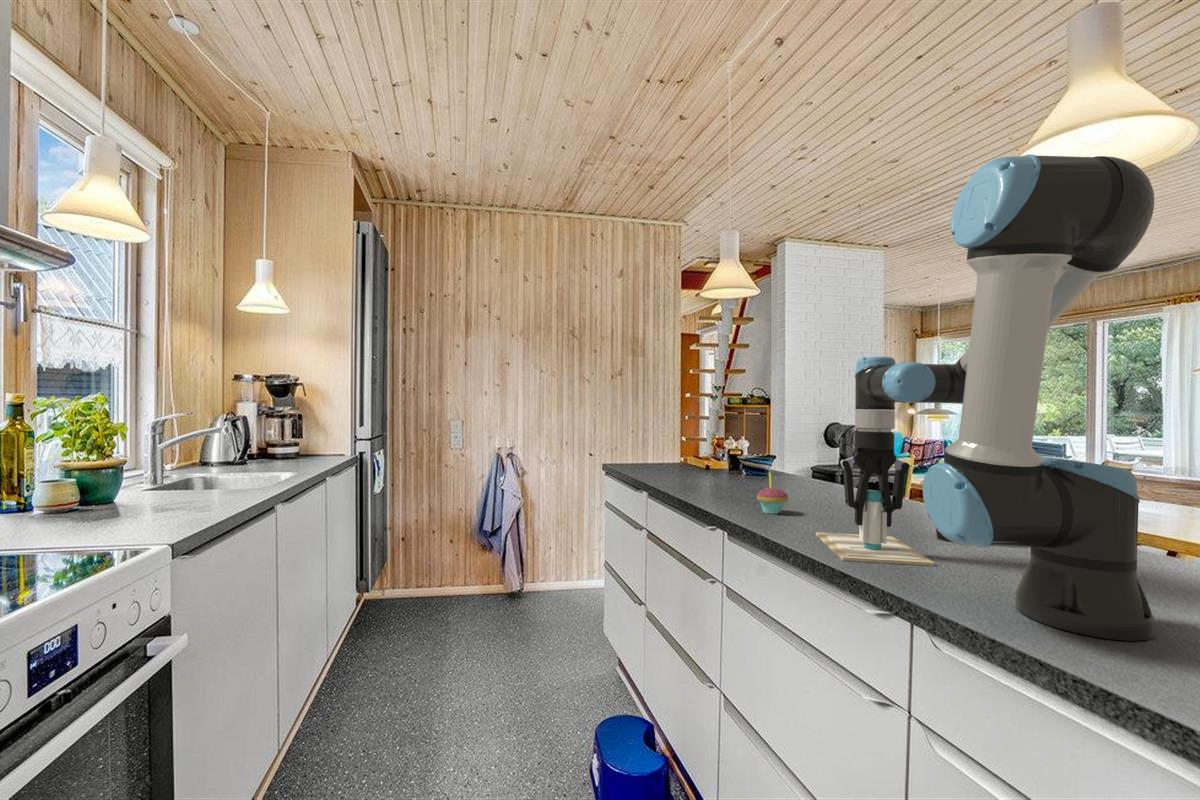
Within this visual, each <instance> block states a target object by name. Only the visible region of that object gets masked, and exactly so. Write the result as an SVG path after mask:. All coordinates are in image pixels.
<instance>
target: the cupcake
mask: <svg viewBox="0 0 1200 800" xmlns="http://www.w3.org/2000/svg"><path fill="white" fill-rule="evenodd" d="M768 477H769V478H768V479H769V487H765V488H763V489H761V490H759V491H758V492H757V496H756V499H757V500H758V501H759V504H760V506H761V509H762V512H763V513H764V512H765V513H764V514H767V513H771V514H770V515H779V514H778V513H780V514H781V513H782V509H783V506H784V504H785V503H787V502H788V501H789V500H788V499H789V497H788V496H789V495H788V494H787V493H786V492H784V491H783V490H782V489H780V488H775V487H773V479H772V478H773V477H772V473H771V472H769V473H768Z"/></svg>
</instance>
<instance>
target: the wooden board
mask: <svg viewBox="0 0 1200 800" xmlns="http://www.w3.org/2000/svg"><path fill="white" fill-rule="evenodd" d="M815 536H816V537H817V538H819V539H820V540H821V541H822V542H823V543H824V544H825V545H826V546H827V547H828V548H829V549H830V550H831V551H832V552H833V553H834V554H835V555H836V556H837V557H839V559H841V561H844V562H845V561H847V562H861V563H862V562H863V563H877V564H878V563H879V564H881V563H882V564H897V565H912V566H914V565H915V566H926V567H927V566H928V567H935V566H936V562H935V561H933V560H931V559H929V558H928V557H926V556H925V555H923V554H921V553H920V552H918V551H917V550H915V549H913V548H912V547H911V546H909V545H907V544H905V543H903V542H902V541H900V540H899V539H897V538H895V537H894V536H891V535H890V536H889V535H887V538H886V544H883V543H881V550H871V549H867V548H864V542H862V541H861V540H860V539H859V534H857V533H855V534H854V533H836V532H835V533H834V532H822V531H821V532H815Z"/></svg>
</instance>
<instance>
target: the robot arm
mask: <svg viewBox="0 0 1200 800" xmlns="http://www.w3.org/2000/svg"><path fill="white" fill-rule="evenodd" d="M1154 191H1155V190H1154V189H1153V186H1152V183H1151V181H1150V178H1149V177H1148V176H1147V174H1146V173H1145V172H1144V171H1143V170H1142V168H1140V167H1139V166H1137V165H1136V164H1135V163H1133V162H1131V161H1129V160H1126V159H1123V158H1119V157H1115V156H1104V155H1102V156H1101V155H1100V156H1098V155H1097V156H1065V155H1063V156H1062V155H1061V156H1060V155H1035V154H1025V155H1020V156H1019V155H1018V156H1017V155H1016V156H1004V157H1003V156H1002V157H998V158H995V159H994V158H993V159H992V160H990V161H988V162H986V163H985V164H983V165H982V166H981V167H979V168H978V169H977V170H976V171H975V172H974V173H973V174H972V175H971V176H970V177H969V179H968V181H967V183H965V185H963V187H962V188H961V191H960V192H959V195H958V197H957V199H956V202H955V204H954V206H953V210H952V214H951V220H950V233H951V235H952V239H953V241H954V242H955V244H957V245H958V246H960V247H962V248H964V249H967V255H966V264H967V265H968V266H969V267H970V268H971V269H972V270H973V271H974V272H975V273H976V275H977V278H976V286H975V295H974V302H973V303H974V304H973V311H972V320H971V331H970V338H969V345H968V348H967V350H965V352H964V353H963V355H962V356H961V357H959V359H957V361H956V363H952V364H951V363H950V364H949V363H947V364H946V363H945V364H944V363H942V364H941V363H939V364H937V363H921V362H917V361H916V362H915V361H910V362H909V361H903V362H899V363H896V361H895V359H894V358H893V357H890V356H867V357H866V356H865V357H861V358H859V359H858V360H857V361H856V365H855V367H856V368H855V373H854V378H855V399H854V400H855V408H854V409H855V410H854V411H855V412H854V413H855V414H854V415H855V416H854V427H855V428H856V429H857V430H856V431H855V432H854V450H853V453H852V455H851V457H848V458H846V459H841V460H839V464H840V465H839V466H840V467H841V468H842V471H843V472H842V473H843V474H842V475H843V486H844V499H845V504H846V505H847V506H849V508H853V509H854V524H855V525H857V526H858V527H859V531H858V533H859V534H858V535H859V539H860V540H861V541H862V542H866V543H867V511H866V510H865V499H866V493H867V490H868V487H869V482H870V479H871V475H876V477H877V480H878V487H879V491H882V520H881V543H883V544H886V538H887V536H888V535H887V529H888V528H891V526H892V524H893V523H892V518H893V517H892V515H893V512H894V511H896V510H902V508H903V502H904V501H903V498H904V489H905V481H906V474H907V472H908V471H909V468H910V463H909V462H906V461H902V460H900V459H898V458H897V456H896V454H895V433H894V432H893V431H892V430H895V427H896V422H895V421H896V420H895V419H896V418H895V417H896V415H895V414H896V413H895V411H896V408H895V407H896V403H903V404H906V403H908V404H913V403H915V404H916V403H917V404H919V403H922V404H959V405H960V404H961V406H962V407H961V415H960V424H959V434H958V438H957V439H956V440H955V441H953V442H952V443H951V444H948V446H946V447H945V449H944V458H943V462H938V463H936V464H933V465H931V466H930V467H929V468H928V469H927V471H926V472H925V473H924V476H923V481H922V496H923V503H924V507H925V509H926V512H927V513H926V514H927V515H929V516H930V518H929V519H930V521H931V523H932V524H933V525H934V527H935V530H936V529H937V530H938V531H939V532H940V533H941V534H942V535H943V536H944V537H945V538H947V539H948V540H950V541H952V542H951V543H956V544H960V545H971V546H977V547H983V548H986V547H987V548H988V547H1030V555H1029V560H1028V564H1027V566H1026V568H1025V570H1024V573H1023V574H1022V576H1021V579H1020V581H1019V584H1018V587H1017V588H1016V590H1015V597H1014V599H1015V600H1014V601H1015V602H1014V603H1015V604H1014V607H1015V608H1016V610H1017V611H1018V612H1019V613H1021V614H1022V615H1024V616H1026V617H1028V618H1030V619H1032V620H1034V621H1036V622H1039V623H1042V624H1044V625H1047V626H1049V627H1053V628H1056V629H1060V630H1062V631H1063V630H1064V631H1066V632H1071V633H1076V634H1078V635H1079V634H1080V635H1083V636H1090V637H1094V638H1099V639H1100V638H1101V639H1106V640H1107V639H1108V640H1116V641H1128V642H1130V641H1131V642H1132V641H1133V642H1135V641H1136V642H1138V641H1139V642H1140V641H1147V640H1150V639H1151V640H1152V638H1154V637H1155V618H1154V615H1153V613H1152V611H1151V607H1150V605H1149V602H1148V599H1147V598H1146V595H1145V593H1144V590H1143V588H1142V585H1141V582H1140V579H1139V577H1138V538H1139V537H1138V536H1139V535H1138V534H1139V533H1138V531H1139V530H1138V529H1139V504H1140V501H1141V500H1140V496H1139V495H1138V482H1137V481H1138V480H1137V478H1136V476H1135V474H1134V473H1132V471H1130V470H1128V469H1126V468H1123V467H1119V466H1112V465H1106V464H1101V463H1099V464H1098V463H1093V462H1085V461H1078V460H1072V459H1071V460H1070V459H1065V458H1055V457H1050V456H1049V457H1048V456H1040V455H1039V454H1038V453H1037V452H1036V451H1035V449H1034V448H1033V439H1034V433H1035V432H1034V431H1035V426H1036V425H1035V424H1036V417H1037V410H1038V403H1039V397H1040V387H1041V380H1042V374H1043V368H1044V366H1043V365H1044V359H1045V351H1046V344H1047V338H1048V330H1049V329H1050V328H1051V327H1052V326H1053V325H1054V323H1056V321H1057V320H1059V318H1060V317H1061V316H1062V315H1063V314H1064V313H1065V312H1066V311H1067V310H1068V309H1069V308H1070V307H1071V306H1072V305H1073V304H1074V303H1075V302H1076V300H1077V299H1078V298H1079V297H1080V296H1081V295H1082V294H1083V293H1084V292H1085V291H1086V290H1087V289H1088V288H1089V287H1090V285H1091V284H1092V283H1094V281H1095V280H1096V279H1097V278H1098V277H1099V276H1100V275H1102V274H1109V273H1111V272H1113V271H1115V270H1116V269H1117V268H1119V267H1120V265H1121V264H1122V263H1123V262H1124V261H1125V260H1126V259H1127V258H1129V256H1130V255H1131V253H1132V252H1134V250H1135V249H1136V248H1137V247H1138V245H1139V244H1140V242H1141V240H1142V239H1143V237H1144V236H1145V234H1146V232H1147V230H1148V228H1149V225H1150V224H1151V221H1152V218H1153V214H1154V210H1155V192H1154ZM854 463H855V466H856V467H857V468H858V469H859V474H858V483H857V488H856V495H855V490H854V489H855V488H854V477H853V476H854V475H853V468H854ZM893 466H894V469H895V471H894V477H893V478H894V479H893V486H892V487H893V488H892V496H891V490H890V484H889V482H890V481H889V478H890V477H889V470H890V469H892V467H893ZM929 516H928V517H929Z"/></svg>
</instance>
